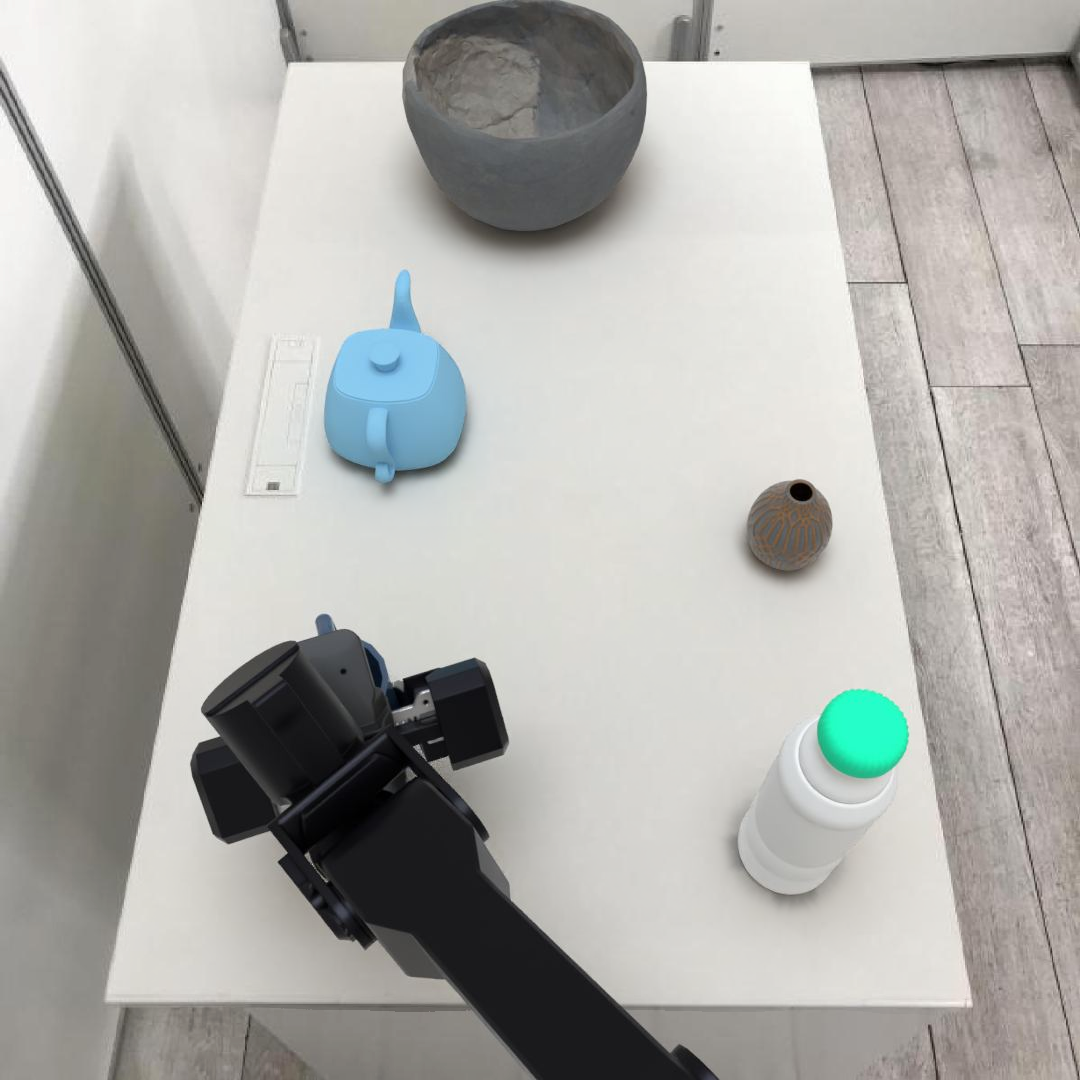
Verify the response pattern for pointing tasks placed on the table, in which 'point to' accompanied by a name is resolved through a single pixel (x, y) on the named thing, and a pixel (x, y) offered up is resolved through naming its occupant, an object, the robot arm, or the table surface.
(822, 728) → the water bottle
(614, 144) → the bowl
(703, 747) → the table surface
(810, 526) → the vase
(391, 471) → the teapot
